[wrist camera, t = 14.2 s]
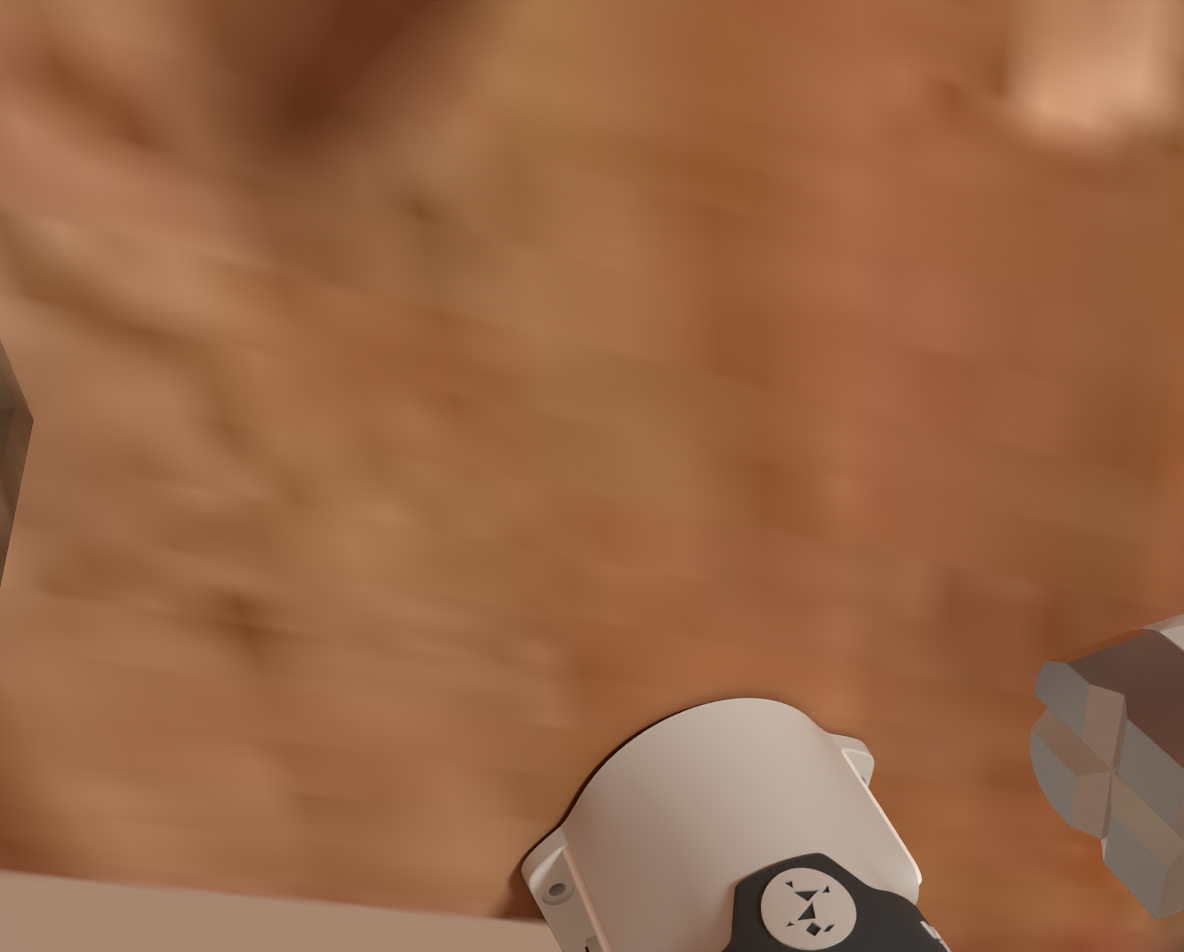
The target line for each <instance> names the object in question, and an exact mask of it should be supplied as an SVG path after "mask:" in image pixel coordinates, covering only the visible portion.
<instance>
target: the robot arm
mask: <svg viewBox="0 0 1184 952" xmlns="http://www.w3.org/2000/svg"><path fill="white" fill-rule="evenodd" d="M1035 694H1036V695H1037V696H1038V698H1039V699H1040V700H1041V701H1042V702H1043V703H1044V704H1045V705H1046V706H1047V708H1046V709H1045V711H1044V712H1043V714H1042V715H1041V717H1040V718H1039V720H1038V721H1037V722H1036V724H1035V725H1034V727H1033V728H1032V730H1031V745H1030V759H1031V762H1032V765H1033V768H1034V771H1035V774H1036V778H1037V781H1038V784H1039V786H1040V787H1041V789H1042V791H1043V792H1044V794H1045V796H1046V797H1047V799H1048V801H1049V802H1050V804H1051V805H1052V807H1053V808H1054V809H1055V810H1056V811H1057V812H1058V813H1059V815H1060V816H1061V817H1062V818H1063V819H1064V820H1065V821H1066V822H1067V824H1068V825H1069V826H1070V827H1073V828H1075V829H1078V830H1080V831H1083V832H1085V833H1087V834H1090V835H1092V836H1095V837H1097V838H1100V839H1101V841H1102V851H1103V861H1104V864H1105V865H1106V866H1107V867H1108V868H1109V869H1110V870H1111V872H1112V873H1113V874H1114V875H1115V876H1116V877H1117V878H1118V879H1119V880H1120V881H1121V882H1122V883H1123V884H1124V886H1125V887H1126V888H1127V889H1128V890H1129V891H1130V892H1131V893H1132V894H1133V895H1134V896H1135V897H1136V898H1137V900H1138V901H1139V902H1140V903H1141V904H1142V905H1143V906H1144V907H1145V908H1146V909H1147V910H1148V911H1149V912H1150V914H1151V915H1152V916H1153V917H1154V918H1155V919H1156V920H1159V919H1162V918H1165V917H1167V916H1170V915H1173V914H1176V913H1178V912H1181V911H1184V613H1183V614H1181V615H1178V616H1175V617H1172V618H1169V619H1166V620H1163V621H1160V622H1157V623H1154V624H1151V625H1148V626H1145V627H1142V628H1140V629H1139V630H1132V631H1129V632H1126V633H1123V634H1120V635H1117V636H1115V637H1112V638H1109V639H1106V640H1103V641H1100V642H1098V643H1095V644H1092V645H1089V646H1086V647H1083V648H1080V649H1078V650H1075V651H1072V652H1069V653H1066V654H1063V655H1061V656H1058V657H1055V658H1052V659H1049V660H1046V662H1045V663H1044V665H1043V666H1042V667H1041V669H1040V670H1039V672H1038V674H1037V682H1036V690H1035ZM873 768H874V759H873V757H872V755H871V754H870V752H869V750H868V749H867V747H866V746H865V744H864V743H863V742H861V741H860V740H857V739H854V738H851V737H846V736H841V735H835V734H829V733H827V732H826V731H824V730H822V729H821V728H820V727H818V726H817V725H816V724H815V723H814V722H813V721H812V720H811V719H810V718H809V717H808V716H806V715H805V714H803V713H802V712H801V711H799V710H797V709H795V708H793V707H791V706H789V705H786V704H783V703H780V702H776V701H772V700H766V699H757V698H739V699H729V700H722V701H717V702H712V703H708V704H704V705H701V706H697V707H694V708H692V709H689V710H686V711H683V712H681V713H679V714H676V715H674V716H672V717H670V718H668V719H665V720H663V721H662V722H660V723H658V724H656V725H654V726H653V727H651V728H649V729H648V730H646V731H644V732H643V733H641V734H640V735H638V736H637V737H635V738H634V739H633V740H631V741H630V742H629V743H627V744H626V745H625V746H624V747H623V748H621V749H620V750H619V751H618V752H617V753H616V754H615V755H613V756H612V757H611V758H610V759H609V760H608V761H607V762H606V763H605V764H604V765H603V766H602V767H601V769H600V770H599V771H598V772H597V773H596V774H595V776H594V777H593V778H592V779H591V781H590V782H589V783H588V785H587V786H586V788H585V789H584V791H583V792H582V794H581V796H580V797H579V799H578V801H577V803H576V804H575V806H574V808H573V809H572V811H571V813H570V814H569V816H568V817H567V819H566V820H565V821H564V823H563V824H562V825H561V826H560V827H559V828H558V829H557V830H555V831H554V832H553V833H552V834H551V835H550V836H548V837H547V838H546V839H545V840H544V841H543V842H542V843H540V844H539V845H538V846H537V847H536V848H535V849H534V850H533V851H532V852H531V853H530V854H529V855H528V857H527V858H526V859H525V861H524V863H523V865H522V869H521V872H522V876H523V878H524V880H525V882H526V884H527V886H528V888H529V890H530V892H531V894H532V895H533V897H534V899H535V901H536V903H537V905H538V906H539V908H540V910H541V912H542V914H543V916H544V918H545V919H546V921H547V923H548V925H549V927H550V929H551V931H552V932H553V934H554V936H555V938H556V940H557V942H558V943H559V945H560V947H561V949H562V951H563V952H951V951H950V950H949V948H948V947H947V945H946V944H945V942H944V941H943V939H942V938H941V936H940V935H939V934H938V932H937V931H936V930H935V929H934V928H933V927H932V926H930V925H929V924H928V922H927V921H926V919H925V918H924V917H923V915H922V914H921V912H920V911H919V910H918V908H917V907H916V906H915V905H916V903H917V899H918V894H919V885H920V883H921V881H922V878H921V874H920V871H919V868H918V866H917V864H916V863H915V861H914V859H913V858H912V856H911V855H910V853H909V852H908V850H907V848H906V847H905V845H904V844H903V842H902V840H901V839H900V837H899V836H898V834H897V833H896V831H895V829H894V828H893V826H892V825H891V823H890V821H889V820H888V818H887V817H886V815H885V814H884V812H883V810H882V809H881V807H880V806H879V804H878V803H877V801H876V800H875V798H874V797H873V795H872V793H871V792H870V790H869V789H868V786H869V782H870V779H871V775H872V772H873Z"/></svg>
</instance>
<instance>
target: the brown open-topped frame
mask: <svg viewBox="0 0 1184 952" xmlns="http://www.w3.org/2000/svg"><path fill="white" fill-rule="evenodd" d="M32 425H33V418H32V416H31V413H30V411H29V409H28V406H27V404H26V401H25V399H24V397H23V394H22V392H21V389H20V387H19V385H18V382H17V380H16V377H15V375H14V373H13V370H12V368H11V365H10V363H9V361H8V358H7V356H6V353H5V351H4V349H3V346H2V344H1V341H0V586H1V581H2V576H3V571H4V566H5V561H6V556H7V551H8V545H9V540H10V535H11V530H12V525H13V520H14V515H15V510H16V505H17V500H18V495H19V490H20V485H21V480H22V475H23V470H24V465H25V460H26V455H27V450H28V445H29V440H30V435H31V430H32Z"/></svg>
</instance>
